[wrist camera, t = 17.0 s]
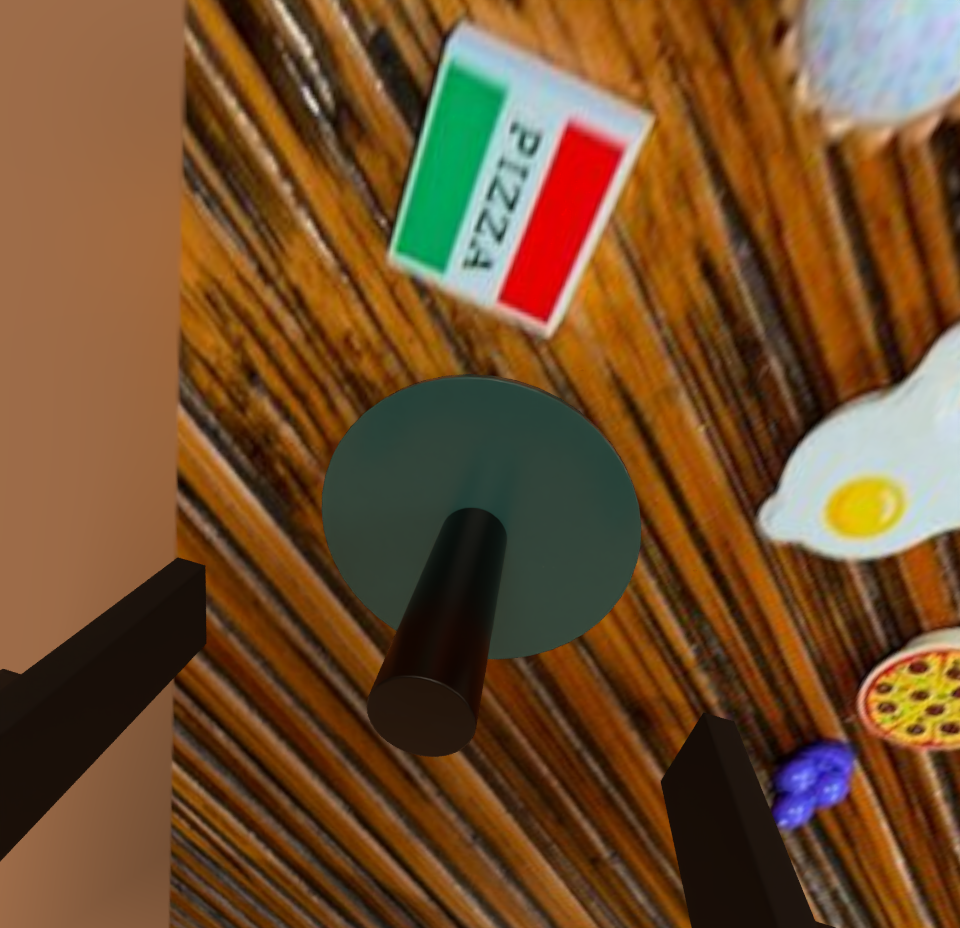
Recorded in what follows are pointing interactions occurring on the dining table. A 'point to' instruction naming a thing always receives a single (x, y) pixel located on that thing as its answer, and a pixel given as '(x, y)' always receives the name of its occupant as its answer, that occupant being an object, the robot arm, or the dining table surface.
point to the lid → (474, 540)
